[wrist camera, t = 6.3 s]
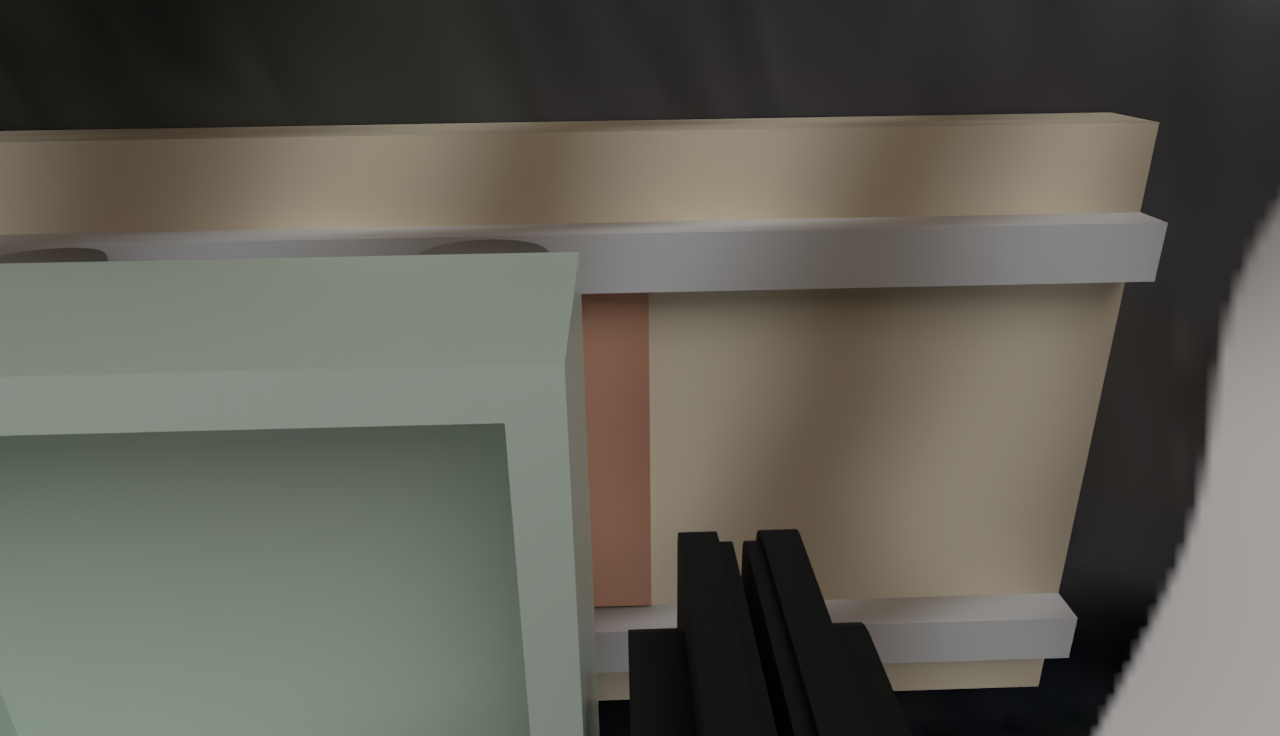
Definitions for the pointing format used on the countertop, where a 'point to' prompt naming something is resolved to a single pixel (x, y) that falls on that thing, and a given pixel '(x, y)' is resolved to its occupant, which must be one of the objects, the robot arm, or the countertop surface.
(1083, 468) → the track
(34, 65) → the countertop surface
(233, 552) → the sage green storage bin
